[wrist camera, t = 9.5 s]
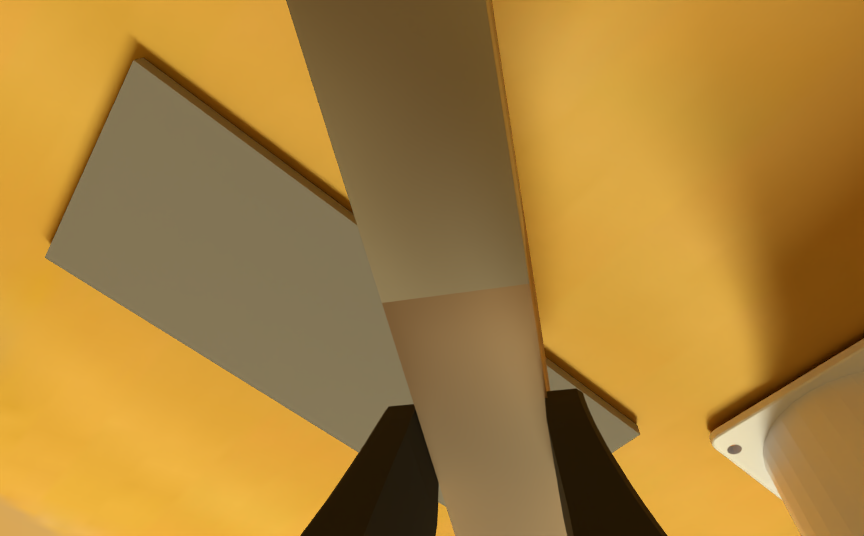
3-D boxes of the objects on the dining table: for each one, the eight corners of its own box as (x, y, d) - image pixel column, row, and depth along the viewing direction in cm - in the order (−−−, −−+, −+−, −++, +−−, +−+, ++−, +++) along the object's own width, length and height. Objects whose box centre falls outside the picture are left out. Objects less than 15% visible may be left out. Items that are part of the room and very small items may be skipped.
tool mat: (637, 425, 22) (640, 434, 21) (488, 523, 26) (488, 533, 25) (143, 57, 17) (133, 60, 16) (54, 251, 21) (45, 257, 20)
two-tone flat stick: (481, -65, 10) (473, -75, 6) (567, 505, 17) (585, 642, 14) (352, -31, 10) (278, -23, 7) (490, 509, 18) (489, 642, 14)
